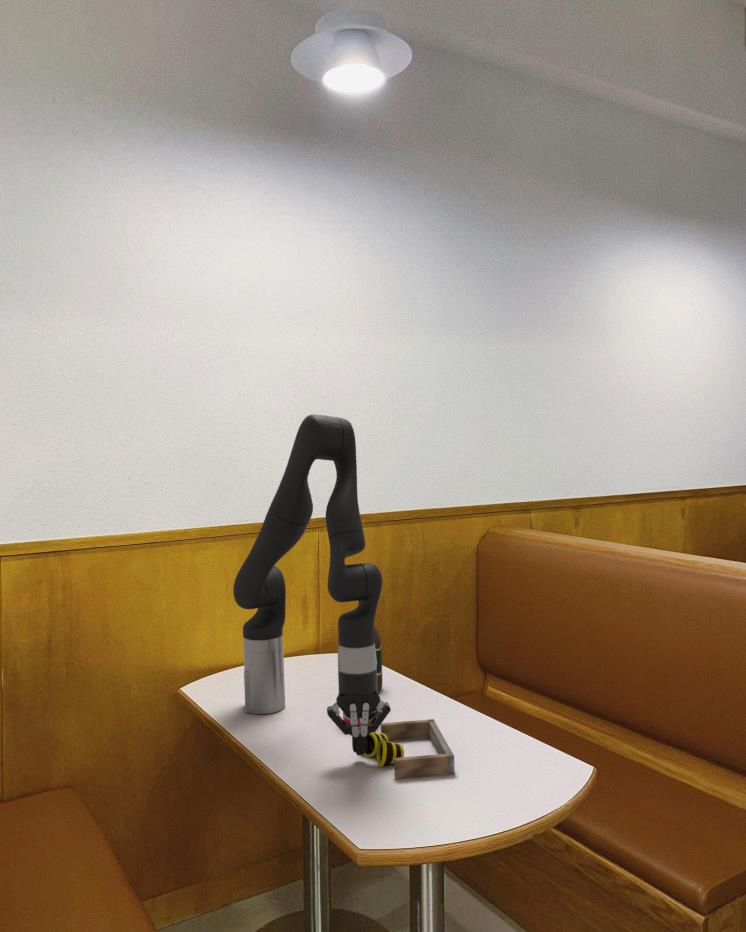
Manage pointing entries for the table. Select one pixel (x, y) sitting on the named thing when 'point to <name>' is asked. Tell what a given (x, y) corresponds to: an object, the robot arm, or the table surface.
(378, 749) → the opera glasses
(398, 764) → the walnut bay
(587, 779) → the table surface
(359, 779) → the table surface
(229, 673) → the table surface
